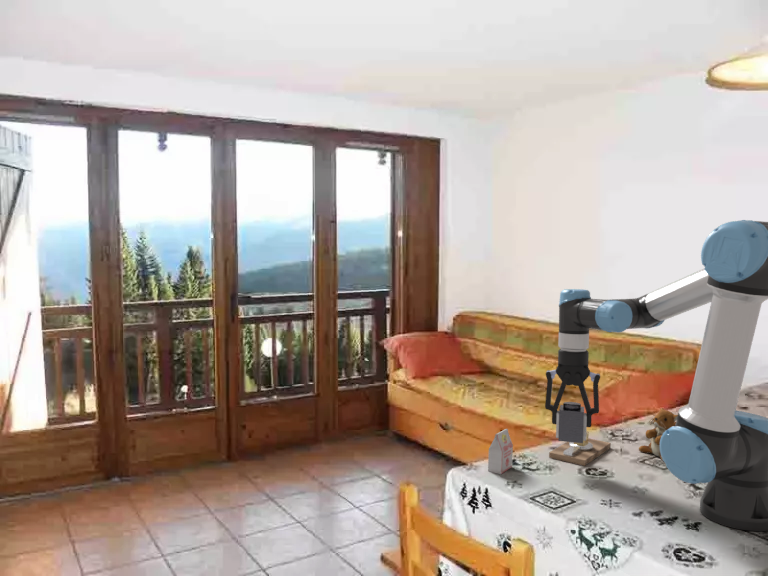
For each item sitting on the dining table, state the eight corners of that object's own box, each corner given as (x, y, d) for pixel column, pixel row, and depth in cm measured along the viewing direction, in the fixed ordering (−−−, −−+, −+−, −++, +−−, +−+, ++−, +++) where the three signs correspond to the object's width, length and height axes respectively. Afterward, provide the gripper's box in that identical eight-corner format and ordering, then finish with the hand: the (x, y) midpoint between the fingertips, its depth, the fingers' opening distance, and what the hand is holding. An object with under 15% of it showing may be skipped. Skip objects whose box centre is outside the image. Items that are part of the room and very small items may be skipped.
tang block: (584, 465, 174) (585, 443, 173) (549, 457, 180) (549, 436, 179) (610, 447, 189) (611, 427, 189) (577, 440, 195) (578, 421, 195)
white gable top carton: (487, 471, 168) (489, 433, 168) (499, 464, 174) (500, 427, 173) (501, 474, 166) (502, 435, 165) (512, 467, 172) (513, 429, 171)
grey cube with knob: (582, 443, 165) (583, 407, 165) (558, 440, 167) (559, 405, 166) (583, 437, 171) (584, 402, 170) (559, 434, 173) (560, 400, 172)
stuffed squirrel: (635, 451, 187) (637, 406, 186) (677, 448, 191) (679, 403, 190) (659, 463, 177) (661, 415, 176) (702, 459, 181) (704, 412, 180)
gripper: (612, 349, 168) (609, 437, 170) (536, 345, 174) (535, 430, 175) (612, 353, 161) (610, 445, 162) (534, 349, 167) (532, 438, 168)
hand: (571, 437), depth 169 cm, fingers closed on grey cube with knob, 6 cm apart
